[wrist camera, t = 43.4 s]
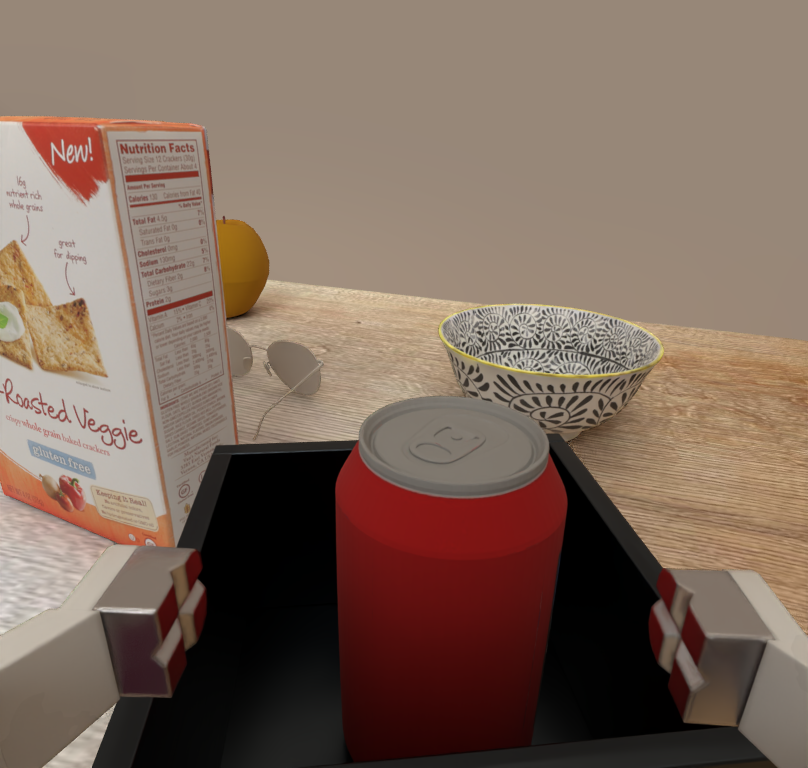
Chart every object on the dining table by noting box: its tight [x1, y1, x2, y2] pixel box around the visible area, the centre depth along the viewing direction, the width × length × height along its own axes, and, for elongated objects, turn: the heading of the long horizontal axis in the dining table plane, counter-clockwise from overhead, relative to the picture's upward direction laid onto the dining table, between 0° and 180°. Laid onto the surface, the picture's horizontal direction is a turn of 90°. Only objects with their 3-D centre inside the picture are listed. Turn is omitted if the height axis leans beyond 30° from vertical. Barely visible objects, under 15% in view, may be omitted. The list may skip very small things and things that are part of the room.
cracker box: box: [0, 116, 239, 547], centre depth 30 cm, size 14×6×21 cm, turn 64°
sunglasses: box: [227, 327, 324, 440], centre depth 48 cm, size 14×8×5 cm, turn 60°
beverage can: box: [335, 396, 568, 762], centre depth 19 cm, size 7×7×12 cm
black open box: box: [92, 433, 777, 768], centre depth 20 cm, size 15×15×9 cm
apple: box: [216, 216, 269, 318], centre depth 70 cm, size 10×10×12 cm
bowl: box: [438, 304, 664, 442], centre depth 44 cm, size 16×16×8 cm
